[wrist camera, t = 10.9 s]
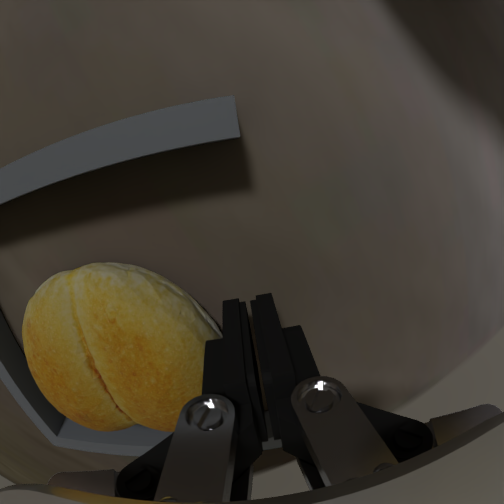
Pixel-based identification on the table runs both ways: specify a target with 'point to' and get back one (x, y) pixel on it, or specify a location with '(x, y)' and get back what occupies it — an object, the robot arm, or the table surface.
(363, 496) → the robot arm
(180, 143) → the bay
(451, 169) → the table surface
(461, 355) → the table surface
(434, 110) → the table surface
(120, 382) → the bread roll
